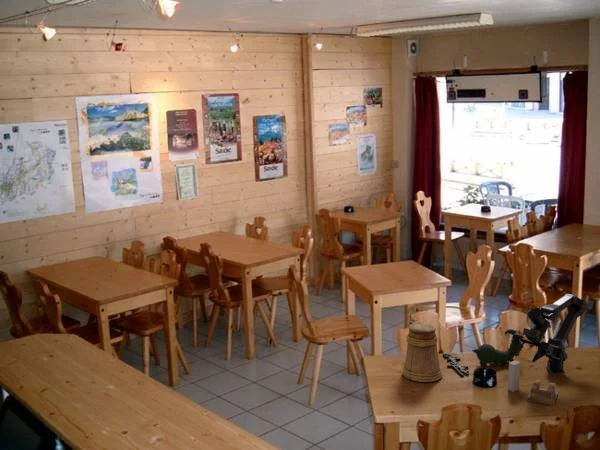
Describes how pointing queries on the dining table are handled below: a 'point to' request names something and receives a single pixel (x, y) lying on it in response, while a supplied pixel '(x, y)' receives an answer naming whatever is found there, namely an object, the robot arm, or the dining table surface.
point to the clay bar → (514, 376)
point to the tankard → (422, 353)
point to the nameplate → (456, 365)
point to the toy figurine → (496, 353)
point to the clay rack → (542, 393)
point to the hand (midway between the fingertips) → (524, 358)
